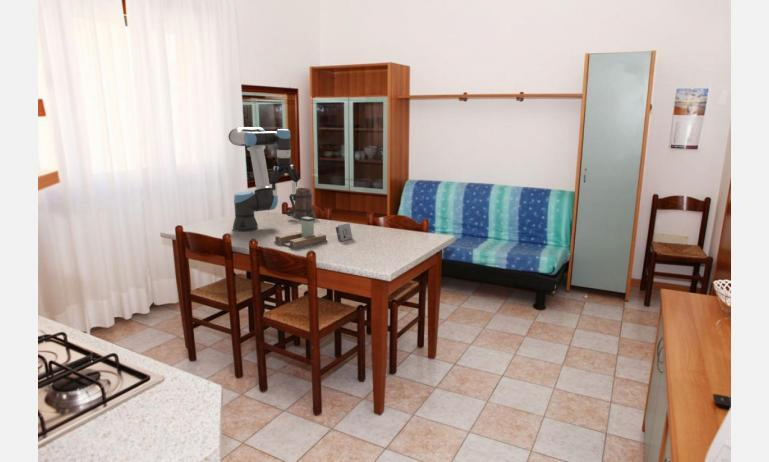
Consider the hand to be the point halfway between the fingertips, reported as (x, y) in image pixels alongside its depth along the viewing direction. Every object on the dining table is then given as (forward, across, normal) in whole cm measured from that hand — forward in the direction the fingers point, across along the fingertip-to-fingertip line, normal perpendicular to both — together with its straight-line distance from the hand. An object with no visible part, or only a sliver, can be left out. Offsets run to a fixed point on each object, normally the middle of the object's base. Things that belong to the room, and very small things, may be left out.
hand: (284, 194), depth 284 cm
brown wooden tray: (+26, -1, -15) cm, 30 cm away
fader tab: (+24, +4, -15) cm, 29 cm away
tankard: (+27, +42, +37) cm, 62 cm away
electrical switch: (+26, +21, -27) cm, 43 cm away
